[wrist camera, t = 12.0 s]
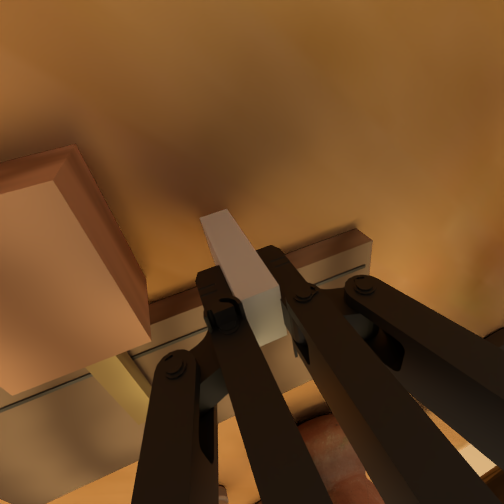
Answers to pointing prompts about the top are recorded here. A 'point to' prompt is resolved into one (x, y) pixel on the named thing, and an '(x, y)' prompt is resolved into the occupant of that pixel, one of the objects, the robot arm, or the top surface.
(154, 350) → the board
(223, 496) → the travel mug
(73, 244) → the brown wooden handled block
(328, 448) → the ceramic jug
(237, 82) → the top surface
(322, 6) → the top surface
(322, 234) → the top surface
